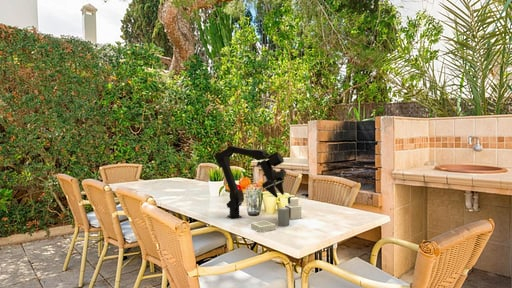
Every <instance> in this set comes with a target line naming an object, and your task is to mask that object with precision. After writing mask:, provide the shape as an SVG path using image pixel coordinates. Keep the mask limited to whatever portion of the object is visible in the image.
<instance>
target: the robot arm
mask: <svg viewBox="0 0 512 288" xmlns="http://www.w3.org/2000/svg"><path fill="white" fill-rule="evenodd" d="M234 154H238V155H243V156H247V157H250V158H252V159H253V160H255V161H256V160H257V163H256V167H260V168H261V170H262V172H263V174H262V176H263V177H265V180H266V181H264V182H262V184H261V187H262V189H264V190H266V191H267V192H269V193H270V194H271V195H272V196H273V197H274V198H279V197H278V193H277V191H278V192H279V193H280V194H281V195H284V194H285V193H284V192H285V191H284V185H283V184H284V182H285V177H287V171H286V170H285V169H284V168H280V169H279V170H278V171H277V170H276V169H274V168H273V167H275V168H276V167H277V166H280V165H281V164H283V163H284V162H285V159H284V157H283V156H282V155H281V153H279V151H275V152H274V153H272V154H270V153H268V152H267V150H265V149H257V148H256V149H251V148H247V147H246V148H245V147H241V146H238V145H230V146H228V147H227V148H225V149H224V150H222V151H221V152H217V154H216V155H215V156H214V157H215V161H216V163H217V165H218V166H219V167H220V168H221V170H222V172H223V176H224V178H225V180H226V185H227V186H228V189H229V201H228V202H227V203H226V206H227V208H228V209H229V214H228V215H227V217H228V218H230V219H239V218H242V216H243V215H240V206H242V204H243V202H244V200H245V194H244V192H243V190H242V189H239V188H238V185H237V183H236V179H235V176H234V174H233V171H232V168H231V165H230V164H231V157H232V156H234ZM276 189H277V190H276Z"/></svg>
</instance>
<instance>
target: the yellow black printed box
mask: <svg viewBox="0 0 512 288" xmlns="http://www.w3.org/2000/svg"><path fill="white" fill-rule="evenodd" d="M284 207H286V208H289V220H297V219H302V205H300V204H299V197H297V196H289V197H288V198H287V204H285V205H284Z"/></svg>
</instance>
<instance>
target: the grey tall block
mask: <svg viewBox="0 0 512 288" xmlns="http://www.w3.org/2000/svg"><path fill="white" fill-rule="evenodd" d="M277 226H278V227H284V228H286V227H288V226H290V219H289V208H286V207H285V206H284V207H283V206H282V207H278V208H277Z"/></svg>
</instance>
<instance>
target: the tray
mask: <svg viewBox="0 0 512 288" xmlns="http://www.w3.org/2000/svg"><path fill="white" fill-rule="evenodd" d="M251 228H252V229H251ZM250 229H251V230H253V231H256V230H257V231H256V232H258V231H259V232H258V233H260V232H262V233H265V232H264V231H267V232H271V231H270V230H272V231H276V230H277V229H276V223H274V222H271V221H268V220H260V221H255V222H254V221H253V222H251V223H250Z"/></svg>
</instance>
